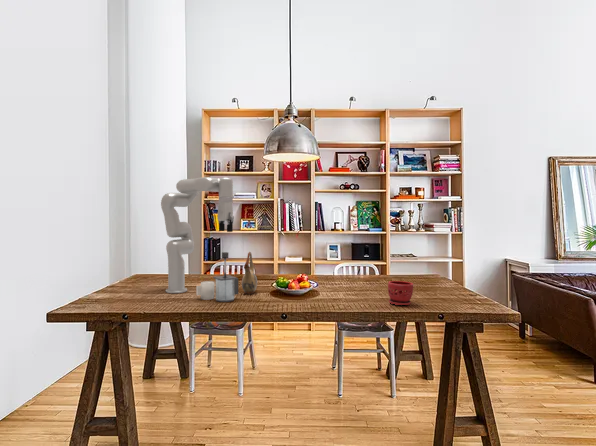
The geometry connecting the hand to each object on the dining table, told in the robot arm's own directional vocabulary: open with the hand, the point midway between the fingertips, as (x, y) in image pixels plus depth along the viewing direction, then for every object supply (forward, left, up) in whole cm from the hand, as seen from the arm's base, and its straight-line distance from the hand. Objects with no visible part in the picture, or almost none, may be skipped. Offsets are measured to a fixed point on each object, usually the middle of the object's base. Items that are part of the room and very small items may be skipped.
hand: (225, 231), depth 221 cm
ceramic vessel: (-8, +20, -38) cm, 44 cm away
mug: (-10, -8, -38) cm, 40 cm away
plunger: (0, 0, -28) cm, 28 cm away
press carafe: (0, +1, -38) cm, 38 cm away
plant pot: (+62, +73, -38) cm, 103 cm away
